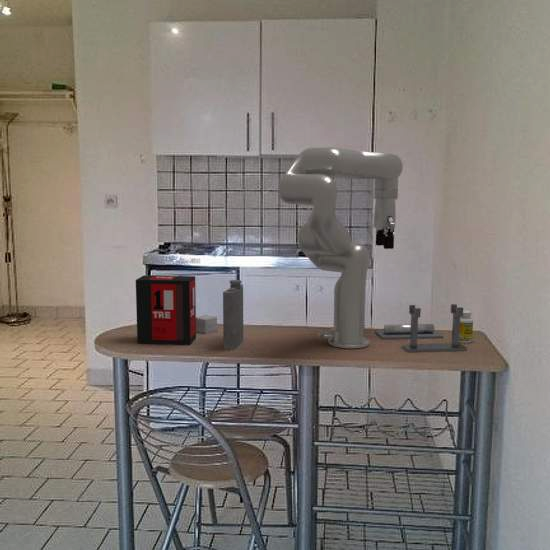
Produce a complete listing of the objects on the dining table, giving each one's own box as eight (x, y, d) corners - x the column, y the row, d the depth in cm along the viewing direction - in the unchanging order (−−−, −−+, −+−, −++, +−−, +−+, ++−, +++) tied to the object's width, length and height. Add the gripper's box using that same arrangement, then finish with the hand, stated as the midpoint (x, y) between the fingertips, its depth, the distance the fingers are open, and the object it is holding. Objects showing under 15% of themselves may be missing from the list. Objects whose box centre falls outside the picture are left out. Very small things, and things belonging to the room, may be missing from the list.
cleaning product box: (196, 338, 205) (195, 276, 202) (190, 345, 196) (189, 280, 193) (145, 336, 206) (143, 275, 203) (137, 343, 198) (135, 279, 195)
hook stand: (408, 352, 189) (410, 309, 188) (402, 346, 195) (403, 304, 193) (466, 350, 191) (469, 307, 189) (459, 345, 197) (461, 303, 195)
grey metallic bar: (386, 335, 207) (386, 326, 207) (383, 332, 210) (383, 324, 210) (434, 333, 209) (434, 324, 209) (430, 331, 212) (431, 322, 212)
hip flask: (234, 337, 206) (234, 276, 203) (247, 338, 205) (246, 276, 202) (222, 350, 190) (221, 284, 187) (235, 351, 190) (235, 284, 187)
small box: (205, 328, 218) (205, 314, 218) (217, 331, 215) (217, 316, 214) (193, 331, 214) (193, 317, 213) (205, 334, 211) (205, 319, 210)
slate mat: (382, 339, 204) (382, 337, 204) (375, 332, 213) (375, 330, 213) (443, 337, 207) (443, 336, 206) (433, 331, 215) (433, 329, 215)
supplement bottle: (462, 338, 206) (463, 308, 205) (475, 341, 202) (477, 311, 200) (450, 340, 203) (452, 310, 202) (464, 344, 199) (465, 313, 197)
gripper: (368, 194, 217) (366, 244, 220) (381, 195, 200) (380, 250, 203) (389, 194, 218) (388, 244, 221) (405, 195, 201) (403, 249, 204)
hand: (384, 246), depth 212 cm, fingers open, 9 cm apart
